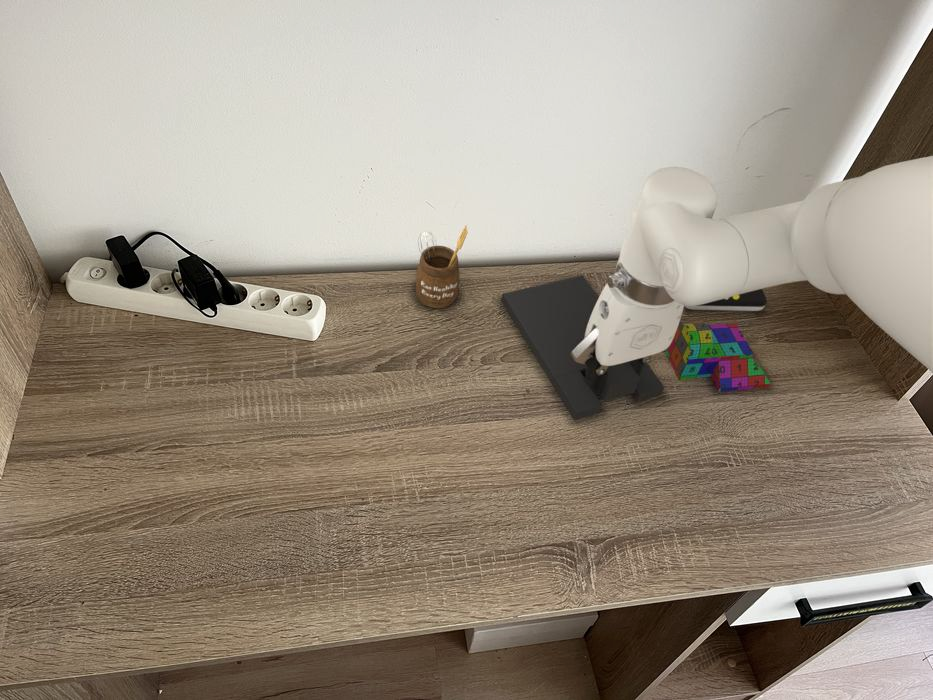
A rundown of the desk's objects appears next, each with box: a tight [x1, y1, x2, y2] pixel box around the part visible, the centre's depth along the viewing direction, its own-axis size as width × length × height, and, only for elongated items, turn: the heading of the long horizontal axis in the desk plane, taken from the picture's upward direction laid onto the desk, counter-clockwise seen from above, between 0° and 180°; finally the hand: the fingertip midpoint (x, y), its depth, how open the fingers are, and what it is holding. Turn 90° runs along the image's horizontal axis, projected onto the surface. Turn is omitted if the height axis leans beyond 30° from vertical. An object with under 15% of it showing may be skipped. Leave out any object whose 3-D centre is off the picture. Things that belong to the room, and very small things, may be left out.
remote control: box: [684, 289, 768, 312], centre depth 110 cm, size 6×13×2 cm, turn 94°
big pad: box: [500, 274, 665, 421], centre depth 101 cm, size 22×13×2 cm, turn 23°
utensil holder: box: [415, 224, 469, 309], centre depth 101 cm, size 6×6×12 cm
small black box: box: [585, 362, 640, 402], centre depth 95 cm, size 5×4×3 cm
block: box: [664, 320, 772, 393], centre depth 99 cm, size 12×8×7 cm
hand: (610, 380), depth 96 cm, fingers closed on small black box, 4 cm apart
